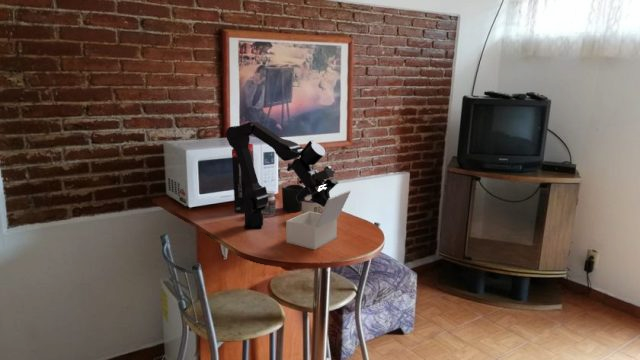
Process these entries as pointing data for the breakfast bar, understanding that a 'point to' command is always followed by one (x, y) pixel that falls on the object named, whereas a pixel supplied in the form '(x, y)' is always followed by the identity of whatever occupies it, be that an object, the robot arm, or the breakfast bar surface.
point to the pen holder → (291, 198)
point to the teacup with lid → (311, 206)
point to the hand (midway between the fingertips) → (332, 209)
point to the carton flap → (333, 208)
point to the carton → (310, 231)
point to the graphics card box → (239, 180)
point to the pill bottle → (270, 205)
